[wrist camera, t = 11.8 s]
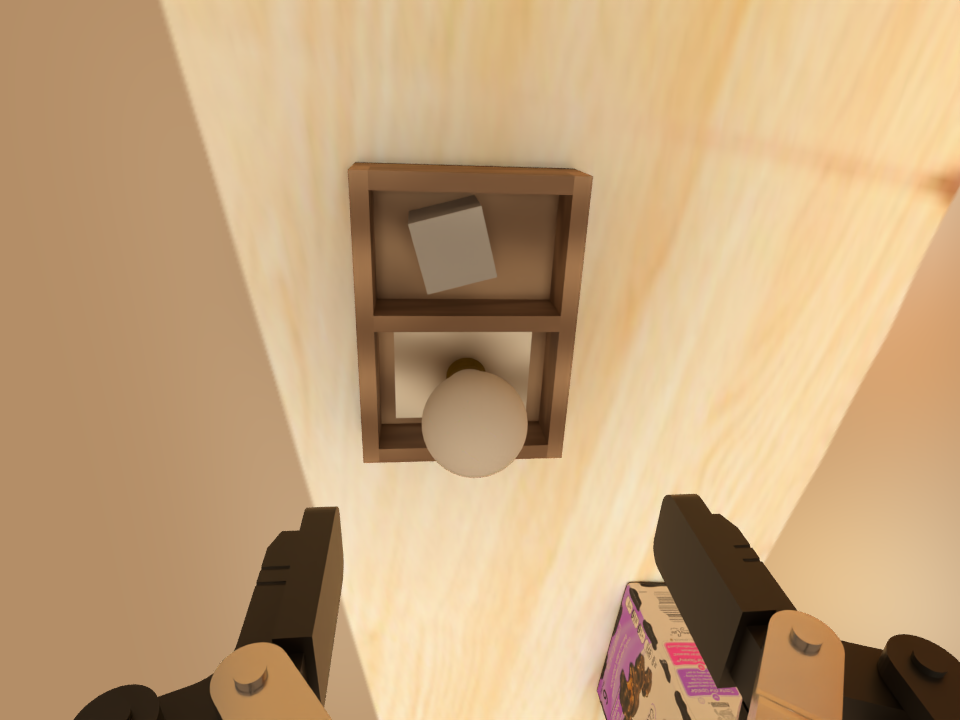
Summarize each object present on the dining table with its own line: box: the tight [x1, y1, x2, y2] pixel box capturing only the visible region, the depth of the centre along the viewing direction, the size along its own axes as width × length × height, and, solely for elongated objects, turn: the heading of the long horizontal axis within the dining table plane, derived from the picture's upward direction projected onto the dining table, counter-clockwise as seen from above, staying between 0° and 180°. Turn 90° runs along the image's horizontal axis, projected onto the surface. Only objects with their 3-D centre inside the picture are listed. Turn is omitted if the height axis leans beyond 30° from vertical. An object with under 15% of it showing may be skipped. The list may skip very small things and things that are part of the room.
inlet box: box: [348, 162, 593, 463], centre depth 36 cm, size 18×13×4 cm
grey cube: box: [408, 195, 497, 294], centre depth 33 cm, size 4×4×4 cm
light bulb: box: [422, 358, 528, 478], centre depth 34 cm, size 6×6×10 cm
